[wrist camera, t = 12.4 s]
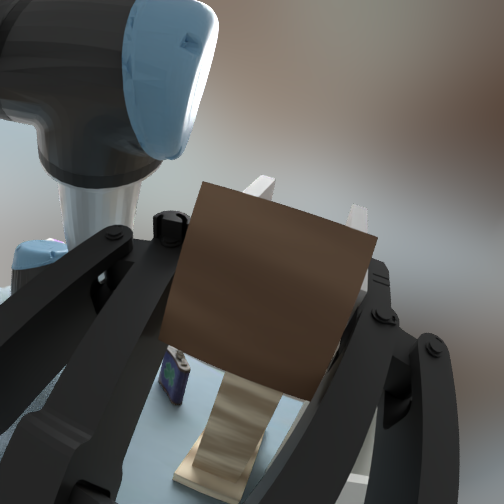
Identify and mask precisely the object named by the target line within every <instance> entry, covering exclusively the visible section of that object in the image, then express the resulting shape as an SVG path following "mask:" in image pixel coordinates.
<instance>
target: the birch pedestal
mask: <svg viewBox="0 0 504 504" xmlns="http://www.w3.org/2000/svg"><path fill="white" fill-rule="evenodd" d="M282 395H283V393H282V392H279V391H277V390H274V389H271V388H268V387H265V386H263V385H260V384H257V383H255V382H252V381H249V380H247V379H244V378H242V377H239V376H237V375H234V374H232V373H229V372H227V371H225V374H224V377H223V380H222V383H221V385H220V388H219V391H218V394H217V397H216V400H215V402H214V405H213V408H212V411H211V414H210V416H209V419H208V422H207V425H206V427H205V429H204V430H203V432H202V433H201V435H200V436H199V438H198V439H197V441H196V442H195V444H194V445H193V447H192V448H191V450H190V451H189V453H188V454H187V456H186V457H185V458H184V460H183V461H182V463H181V464H180V466H179V467H178V468H177V470H176V471H175V473H174V476H173V479H172V480H174V481H176V482H179V483H181V484H183V485H185V486H187V487H189V488H192V489H194V490H196V491H198V492H201V493H203V494H206V495H208V496H211V497H213V498H216V499H218V500H221V501H224V502H227V503H229V504H238V503H239V502H240V500H241V498H242V495H243V492H244V490H245V487H246V484H247V481H248V479H249V476H250V473H251V470H252V467H253V465H254V462H255V459H256V456H257V453H258V450H259V447H260V444H261V441H262V438H263V435H264V432H265V429H266V427H267V425H268V423H269V421H270V419H271V417H272V415H273V413H274V411H275V409H276V407H277V405H278V403H279V401H280V399H281V397H282Z"/></svg>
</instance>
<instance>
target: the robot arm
mask: <svg viewBox="0 0 504 504" xmlns="http://www.w3.org/2000/svg"><path fill="white" fill-rule="evenodd" d="M217 35H218V19H217V16H216V14H215V13H214V11H213V10H212V9H211V8H210V7H209V6H207V5H206V4H204V3H202V2H199V1H196V0H0V119H4V120H8V121H14V122H18V123H23V124H28V125H33V126H34V127H35V128H36V130H37V143H38V153H39V159H40V162H41V165H42V167H43V169H44V170H45V172H46V173H47V174H48V175H49V176H50V177H51V178H52V179H53V180H55V181H56V182H58V192H59V200H60V207H61V215H62V221H63V227H64V233H65V238H66V243H67V245H66V244H64V243H61V242H56V241H49V240H31V241H26V242H23V243H21V244H19V245H18V246H17V248H16V249H15V253H14V259H13V265H12V279H11V296H10V297H9V298H8V299H7V300H6V301H4V302H3V303H2V304H1V305H0V435H1V434H2V433H4V432H5V431H6V430H7V429H8V428H9V427H10V426H11V425H12V424H13V423H14V422H15V421H16V420H17V419H18V417H19V416H20V415H21V414H22V413H23V412H24V411H25V409H26V408H27V407H28V406H29V405H30V404H31V403H32V401H33V400H34V399H35V398H36V397H37V396H38V395H39V394H40V393H41V391H42V390H43V389H44V388H45V387H46V386H47V385H48V384H49V383H50V382H51V380H52V379H53V378H54V377H55V376H56V375H57V374H58V373H59V372H60V371H61V370H62V369H63V368H64V367H65V366H66V367H65V369H64V370H63V372H62V374H61V376H60V377H59V379H58V381H57V383H56V385H55V386H54V388H53V390H52V392H51V394H50V395H49V397H48V399H47V401H46V403H45V405H44V406H43V408H42V409H41V410H39V411H36V412H30V413H28V414H26V415H25V416H23V417H22V419H21V420H20V422H19V423H18V425H17V427H16V429H15V431H14V433H13V435H12V437H11V439H10V441H9V444H8V446H7V448H6V450H5V453H4V455H3V457H2V460H1V462H0V504H118V503H116V502H115V500H116V497H117V494H118V491H119V488H120V484H121V481H122V464H123V460H124V457H125V455H126V452H127V449H128V446H129V444H130V441H131V438H132V436H133V433H134V430H135V428H136V425H137V422H138V420H139V417H140V415H141V412H142V410H143V407H144V404H145V402H146V399H147V397H148V394H149V392H150V389H151V387H152V384H153V382H154V379H155V377H156V374H157V372H158V370H159V367H160V365H161V362H162V360H163V357H164V355H165V353H166V350H167V348H168V346H169V345H168V344H166V343H164V342H162V341H160V340H158V338H159V334H160V329H161V325H162V321H163V317H164V313H165V309H166V305H167V301H168V297H169V293H170V289H171V285H172V282H173V278H174V274H175V271H176V267H177V263H178V260H179V256H180V253H181V249H182V246H183V242H184V239H185V236H186V232H187V229H188V226H189V222H190V219H191V218H190V216H188V215H187V214H185V213H182V212H179V211H163V212H161V213H158V214H156V215H155V216H153V232H154V233H153V234H154V238H153V239H152V240H151V241H147V240H139V239H133V226H134V220H135V214H136V208H137V203H138V197H139V192H140V187H141V182H142V181H143V180H145V179H146V178H147V177H149V176H150V175H152V174H153V173H154V172H155V171H156V170H157V169H158V168H159V166H160V165H161V163H162V162H163V160H166V159H170V160H175V159H177V158H179V157H180V156H181V155H182V153H183V152H184V149H185V147H186V145H187V142H188V140H189V136H190V133H191V131H192V128H193V125H194V121H195V118H196V114H197V110H198V107H199V103H200V100H201V97H202V94H203V91H204V88H205V84H206V80H207V77H208V73H209V69H210V66H211V62H212V58H213V54H214V50H215V46H216V41H217ZM275 181H276V179H275V178H272V177H268V176H265V175H261V176H260V177H259V178H257V179H256V180H255V181H254V182H253V183H252V184H251V185H249V186H248V187H247V188H246V189H245V190H244V191H243V193H246V194H249V195H253V196H256V197H259V198H263V199H266V200H269V201H271V199H272V195H273V190H274V185H275ZM345 226H348V227H351V228H354V229H356V230H359V231H362V232H365V233H367V234H368V220H367V209H366V208H364V207H361V206H358V205H355V204H353V205H352V208H351V210H350V213H349V216H348V219H347V222H346V224H345ZM389 286H390V282H389V271H388V269H387V267H386V266H385V264H384V263H383V262H381V261H379V260H375V259H373V258H371V261H370V264H369V267H368V269H367V272H366V275H365V278H364V281H363V283H362V286H361V289H360V292H359V294H358V297H357V300H356V302H355V305H354V307H353V310H352V312H351V315H350V317H349V320H348V322H347V325H346V327H345V330H344V332H343V334H342V337H341V340H340V346H339V349H338V351H337V352H336V354H335V355H334V357H333V358H332V360H331V361H330V363H329V366H328V369H327V371H326V373H325V375H324V377H323V379H322V381H321V382H320V384H319V386H318V388H317V390H316V392H315V394H314V396H313V398H312V400H311V402H310V403H309V405H308V406H307V408H306V410H305V412H304V413H303V415H302V417H301V418H300V420H299V422H298V424H297V425H296V427H295V429H294V430H293V432H292V433H291V435H290V437H289V438H288V440H287V442H286V443H285V445H284V446H283V448H282V449H281V451H280V452H279V454H278V456H277V457H276V459H275V460H274V462H273V463H272V465H271V466H270V467H269V469H268V470H267V472H266V473H265V475H264V476H263V478H262V479H261V480H260V482H259V483H258V484H257V486H256V487H255V489H254V490H253V491H252V493H251V494H250V495H249V497H248V498H247V499H246V501H245V502H244V503H243V504H335V503H336V501H337V499H338V497H339V495H340V493H341V491H342V489H343V487H344V485H345V483H346V481H347V479H348V477H349V475H350V473H351V471H352V469H353V466H354V464H355V462H356V460H357V457H358V455H359V453H360V450H361V448H362V446H363V443H364V441H365V438H366V436H367V433H368V430H369V428H370V425H371V422H372V420H373V417H374V414H375V411H376V408H377V417H376V427H375V437H374V445H373V453H372V460H371V467H370V473H369V479H368V485H367V490H366V495H365V500H364V504H457V502H458V490H459V429H458V414H457V403H456V394H455V386H454V379H453V372H452V366H451V360H450V355H449V351H448V348H447V346H446V345H445V343H444V342H443V340H441V339H440V338H439V337H438V336H436V335H434V334H432V333H424V334H421V336H420V337H419V338H418V339H416V338H414V337H413V336H411V335H410V334H408V333H406V332H405V331H403V330H402V329H401V328H400V327H399V318H398V316H397V314H396V313H395V312H394V310H393V309H392V308H391V296H390V287H389ZM67 363H68V364H67ZM66 364H67V365H66Z"/></svg>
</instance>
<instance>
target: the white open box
mask: <svg viewBox="0 0 504 504" xmlns="http://www.w3.org/2000/svg"><path fill="white" fill-rule="evenodd" d="M309 403H310V401H307V400H305V402H304V404H303V406H302V407H301V409H300V411H299V413H298V415H297V417H296V419H295V421H294V422H293V424H292V426H291V428H290V430H289V431H288V433H287V435H286V437H285V439H284V440H283V442H282V444H281V445H280V447H279V449H278V450H277V452H276V454H275V456H274V457H273V459H272V460H271V462H270V464H269V465H268V467H267V468H266V470H265V473H266V472H267V470H268V469H269V467H270V466H271V465H272V463H273V462H274V460H275V459H276V457H277V456H278V454H279V452H280V451H281V449H282V448H283V446H284V445H285V443H286V442H287V440H288V438H289V437H290V435H291V433H292V432H293V430H294V429H295V427H296V425H297V424H298V422H299V420H300V418H301V417H302V415H303V413H304V412H305V410H306V408H307V406H308V405H309ZM376 417H377V408H376V411H375V414H374V417H373V420H372V422H371V425H370V428H369V430H368V433H367V436H366V438H365V441H364V443H363V446H362V448H361V450H360V453H359V455H358V457H357V460H356V462H355V464H354V466H353V469H352V471H351V473H350V475H349V477H348V479H347V481H346V483H345V485H344V487H343V489H342V491H341V493H340V495H339V497H338V499H337V501H336V503H335V504H364V500H365V495H366V490H367V485H368V479H369V473H370V467H371V460H372V453H373V445H374V437H375V427H376ZM265 473H264V475H265Z"/></svg>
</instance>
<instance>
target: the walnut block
mask: <svg viewBox="0 0 504 504" xmlns="http://www.w3.org/2000/svg"><path fill="white" fill-rule="evenodd" d="M377 239H378V237H375V236H373V235H370V234H367V233H365V232H362V231H359V230H356V229H354V228H351V227H348V226H345V225H342V224H339V223H336V222H333V221H331V220H328V219H324V218H322V217H319V216H316V215H313V214H310V213H307V212H304V211H301V210H298V209H294V208H291V207H288V206H285V205H282V204H279V203H276V202H272V201H269V200H266V199H263V198H259V197H256V196H253V195H249V194H246V193H243V192H239V191H236V190H232V189H229V188H225V187H222V186H218V185H214V184H211V183H207V182H204V181H203V182H202V185H201V188H200V191H199V194H198V197H197V200H196V203H195V207H194V210H193V213H192V216H191V219H190V222H189V226H188V229H187V232H186V236H185V239H184V242H183V246H182V249H181V253H180V256H179V260H178V263H177V267H176V271H175V274H174V278H173V282H172V285H171V289H170V293H169V297H168V301H167V305H166V309H165V313H164V317H163V321H162V325H161V329H160V334H159V338H158V340H160V341H162V342H164V343H166V344H168V345H170V346H172V347H174V348H176V349H178V350H180V351H182V352H184V353H186V354H188V355H191V356H193V357H195V358H197V359H199V360H202V361H204V362H206V363H209V364H211V365H213V366H215V367H217V368H220V369H222V370H225V371H227V372H229V373H232V374H234V375H237V376H239V377H242V378H244V379H247V380H249V381H252V382H255V383H257V384H260V385H263V386H265V387H268V388H271V389H274V390H277V391H279V392H282V393H285V394H288V395H291V396H295V397H297V398H300V399H304V400H307V401H310V402H311V400H312V398H313V396H314V394H315V392H316V390H317V388H318V386H319V384H320V382H321V380H322V378H323V376H324V374H325V372H326V370H327V368H328V366H329V363H330V361H331V359H332V357H333V355H334V352H335V350H336V348H337V346H338V343H339V341H340V339H341V337H342V334H343V332H344V330H345V327H346V325H347V322H348V320H349V317H350V315H351V312H352V310H353V307H354V305H355V302H356V300H357V297H358V294H359V292H360V289H361V286H362V283H363V281H364V278H365V275H366V272H367V269H368V267H369V264H370V261H371V258H372V255H373V251H374V248H375V245H376V242H377Z"/></svg>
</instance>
